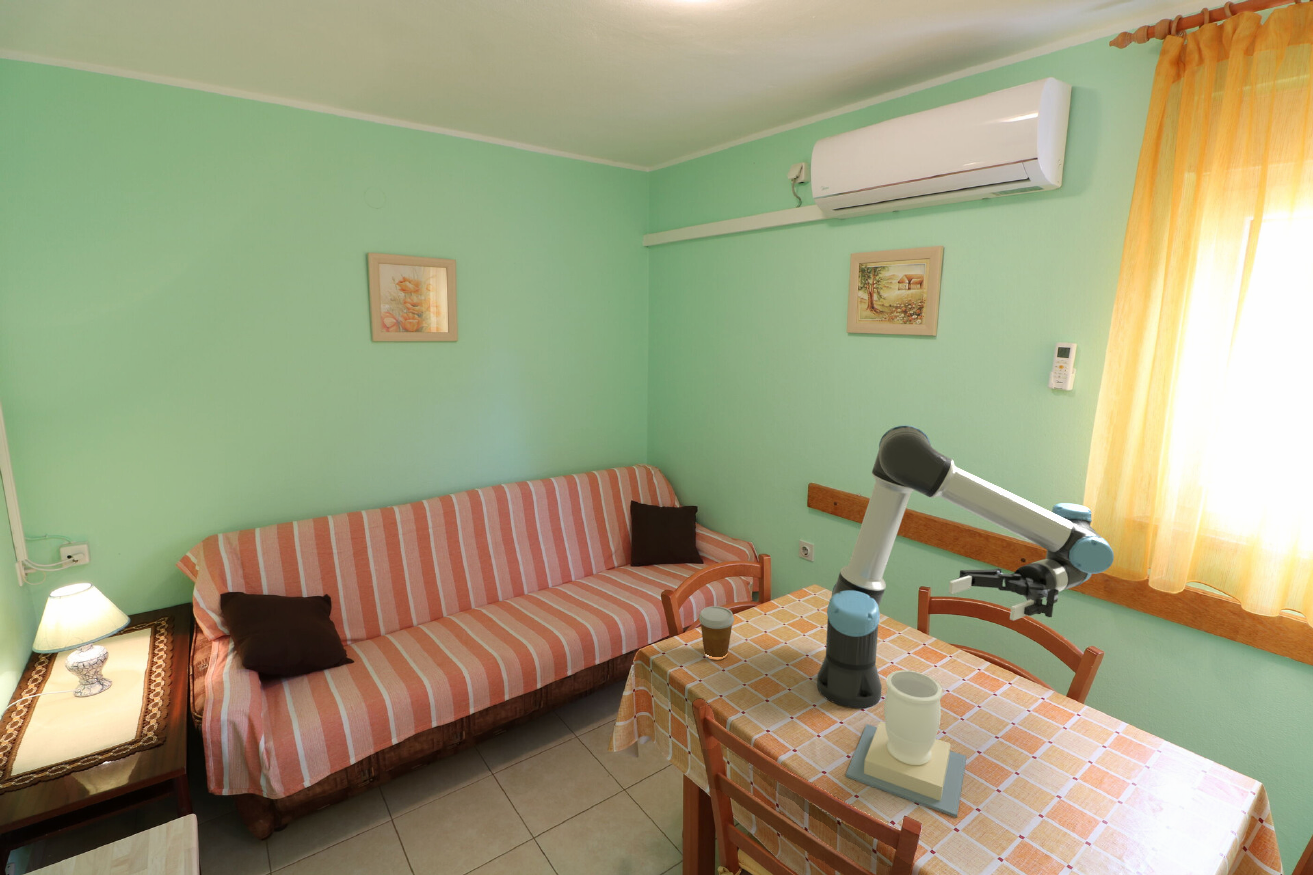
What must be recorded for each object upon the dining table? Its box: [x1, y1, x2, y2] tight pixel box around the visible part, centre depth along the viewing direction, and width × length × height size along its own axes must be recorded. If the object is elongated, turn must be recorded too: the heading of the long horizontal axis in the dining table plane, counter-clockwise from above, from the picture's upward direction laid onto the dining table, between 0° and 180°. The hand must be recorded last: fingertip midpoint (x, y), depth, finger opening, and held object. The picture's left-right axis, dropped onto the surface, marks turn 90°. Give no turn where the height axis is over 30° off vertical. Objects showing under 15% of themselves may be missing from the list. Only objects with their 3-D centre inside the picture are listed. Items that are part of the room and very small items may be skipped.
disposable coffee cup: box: [698, 605, 735, 657], centre depth 166 cm, size 10×10×12 cm
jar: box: [883, 669, 944, 765], centre depth 123 cm, size 11×10×15 cm
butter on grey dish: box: [845, 720, 967, 818], centre depth 124 cm, size 20×18×4 cm
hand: (979, 600), depth 128 cm, fingers open, 13 cm apart
